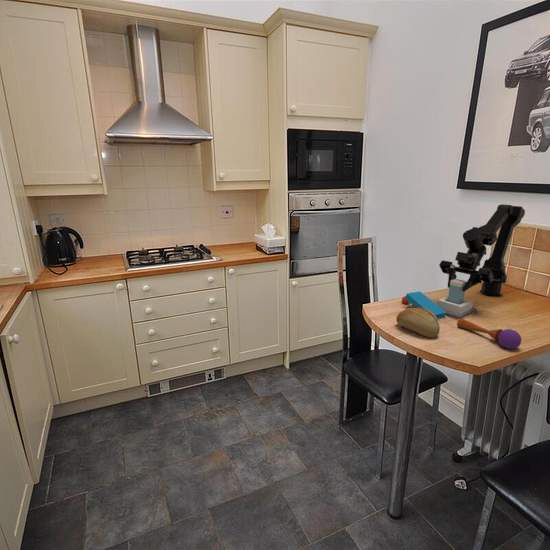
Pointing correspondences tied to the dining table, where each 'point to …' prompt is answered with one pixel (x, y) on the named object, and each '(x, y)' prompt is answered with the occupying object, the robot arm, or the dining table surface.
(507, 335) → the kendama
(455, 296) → the box with white lid
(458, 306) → the board
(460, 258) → the robot arm
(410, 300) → the blue long block
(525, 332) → the dining table surface
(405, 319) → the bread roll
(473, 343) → the dining table surface
